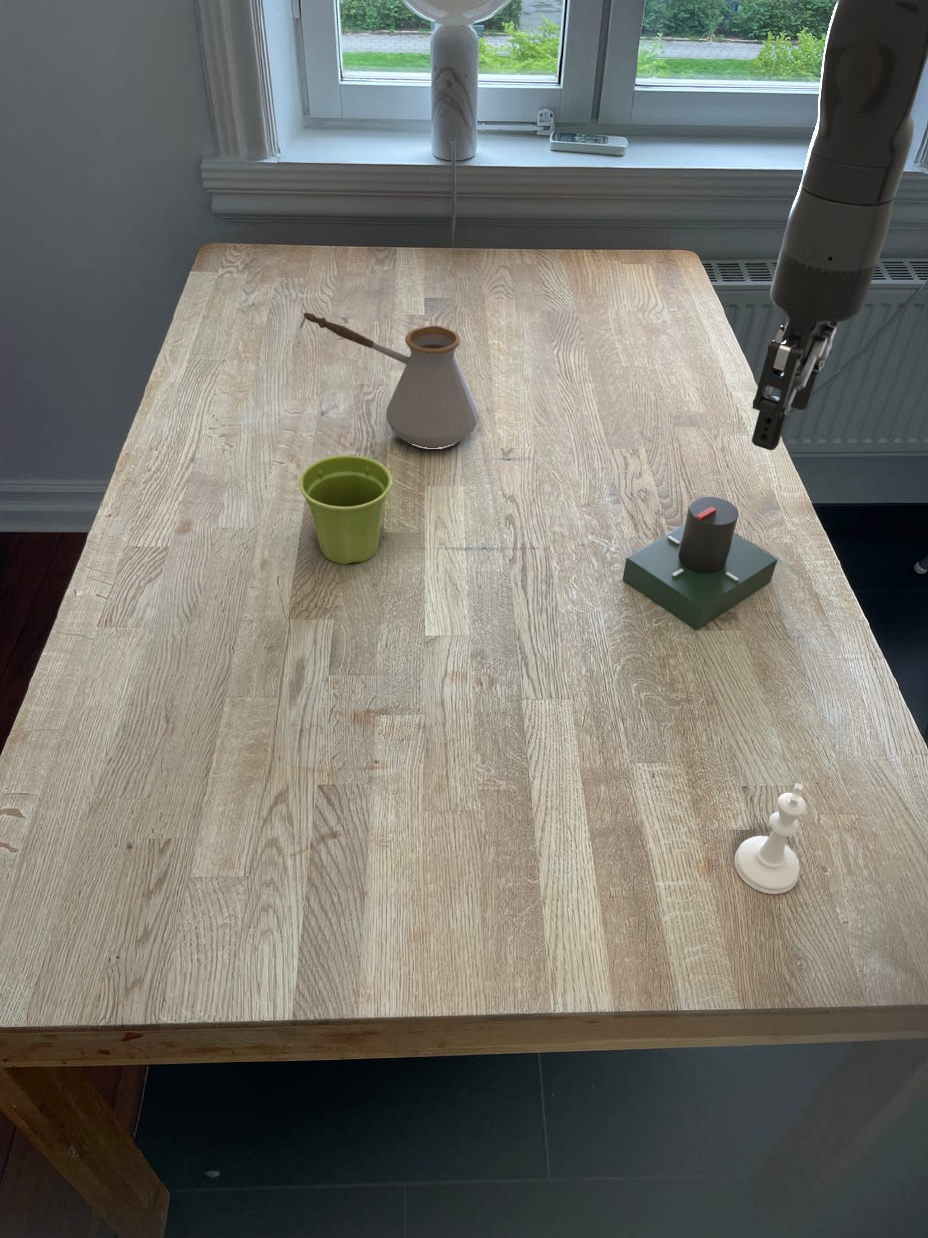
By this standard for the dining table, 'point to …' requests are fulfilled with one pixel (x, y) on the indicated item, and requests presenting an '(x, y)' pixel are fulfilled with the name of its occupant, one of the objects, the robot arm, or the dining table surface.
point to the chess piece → (773, 849)
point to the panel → (697, 578)
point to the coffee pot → (424, 386)
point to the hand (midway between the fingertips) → (779, 425)
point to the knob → (708, 534)
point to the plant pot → (346, 505)
